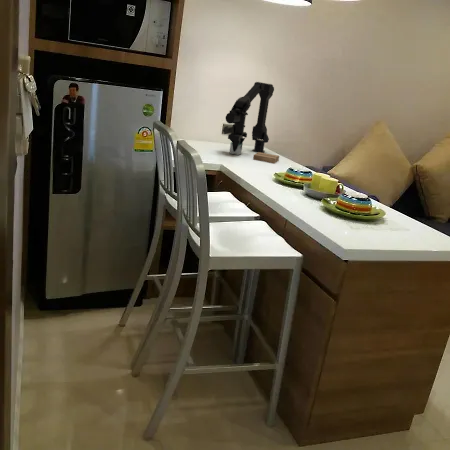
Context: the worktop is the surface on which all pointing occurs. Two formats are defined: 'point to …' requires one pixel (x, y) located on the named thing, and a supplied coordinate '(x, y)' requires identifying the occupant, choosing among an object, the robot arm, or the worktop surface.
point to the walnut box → (266, 157)
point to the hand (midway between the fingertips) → (235, 150)
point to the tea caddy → (238, 150)
